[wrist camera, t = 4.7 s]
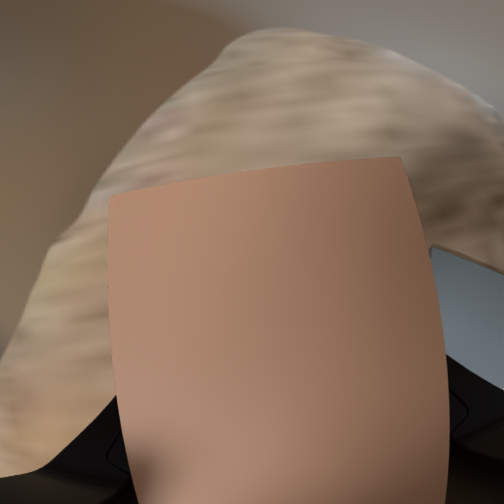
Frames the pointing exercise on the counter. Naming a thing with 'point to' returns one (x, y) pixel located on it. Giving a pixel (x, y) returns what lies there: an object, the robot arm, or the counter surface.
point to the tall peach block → (279, 339)
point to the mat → (471, 314)
